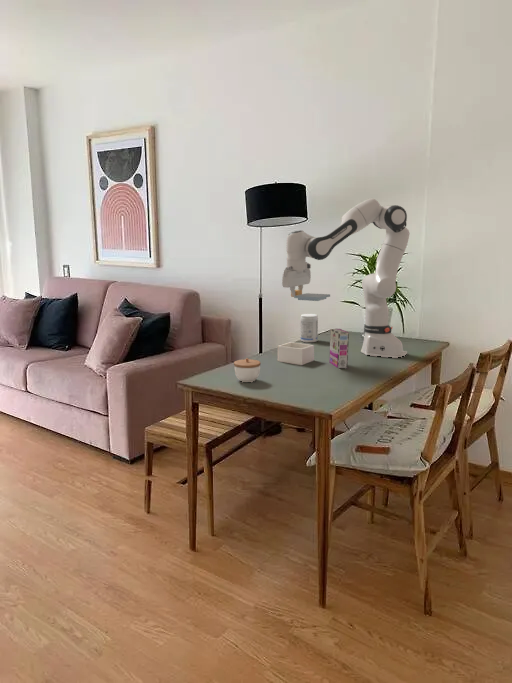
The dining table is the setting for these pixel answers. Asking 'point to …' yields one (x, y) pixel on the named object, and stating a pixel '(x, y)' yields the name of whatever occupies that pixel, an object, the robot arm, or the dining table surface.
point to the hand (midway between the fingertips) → (296, 295)
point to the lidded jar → (247, 369)
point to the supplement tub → (309, 328)
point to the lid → (309, 296)
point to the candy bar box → (339, 348)
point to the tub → (295, 353)
